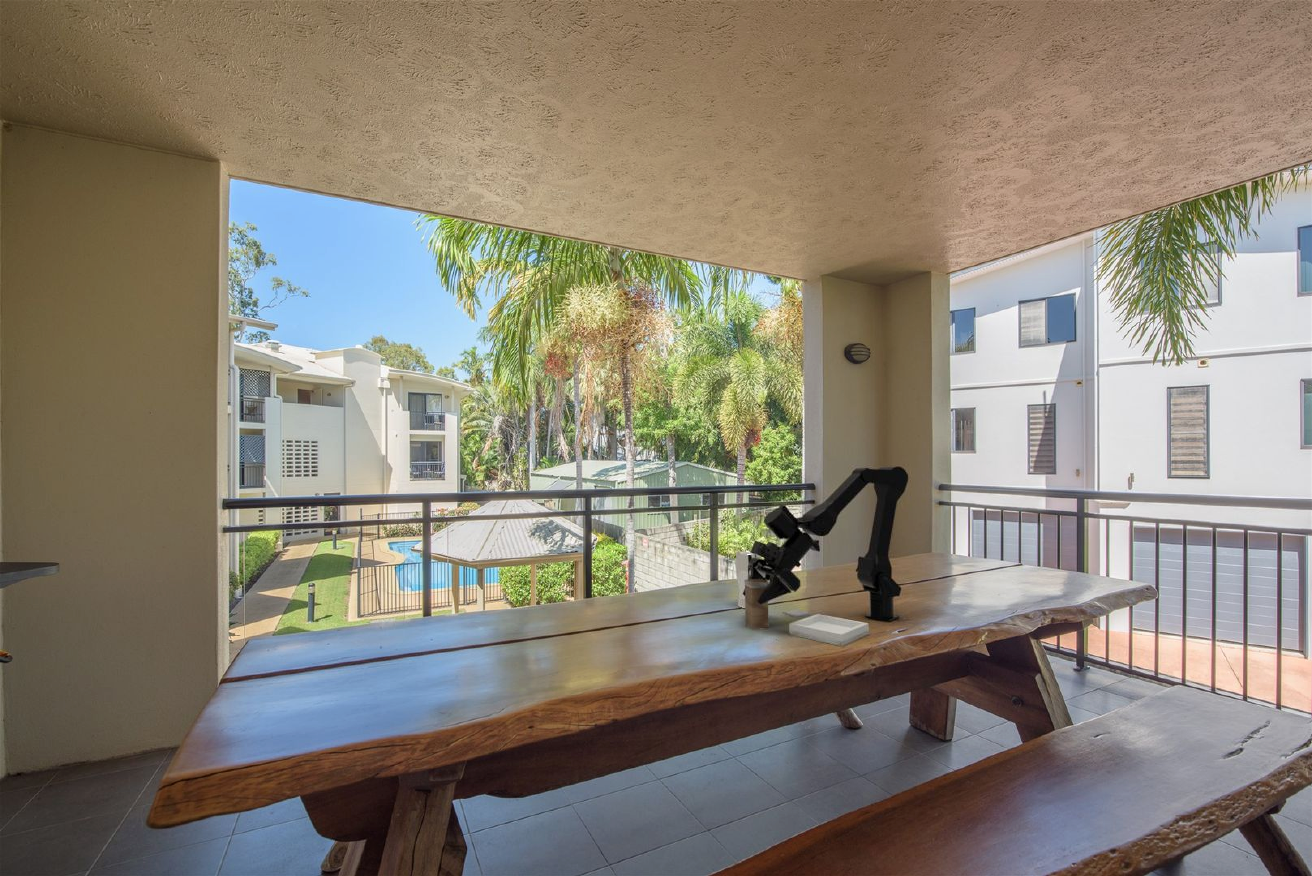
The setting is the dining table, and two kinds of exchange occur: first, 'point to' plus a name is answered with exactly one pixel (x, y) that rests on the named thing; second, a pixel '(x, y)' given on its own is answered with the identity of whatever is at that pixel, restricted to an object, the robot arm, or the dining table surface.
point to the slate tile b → (796, 613)
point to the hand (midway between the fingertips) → (751, 599)
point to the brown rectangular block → (755, 604)
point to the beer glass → (743, 572)
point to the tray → (829, 629)
